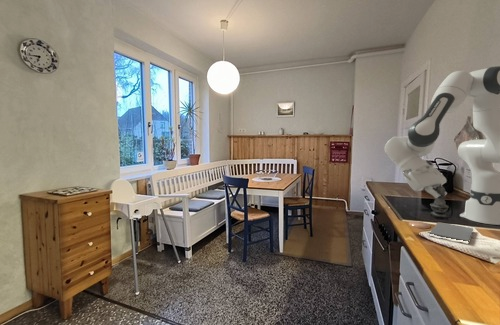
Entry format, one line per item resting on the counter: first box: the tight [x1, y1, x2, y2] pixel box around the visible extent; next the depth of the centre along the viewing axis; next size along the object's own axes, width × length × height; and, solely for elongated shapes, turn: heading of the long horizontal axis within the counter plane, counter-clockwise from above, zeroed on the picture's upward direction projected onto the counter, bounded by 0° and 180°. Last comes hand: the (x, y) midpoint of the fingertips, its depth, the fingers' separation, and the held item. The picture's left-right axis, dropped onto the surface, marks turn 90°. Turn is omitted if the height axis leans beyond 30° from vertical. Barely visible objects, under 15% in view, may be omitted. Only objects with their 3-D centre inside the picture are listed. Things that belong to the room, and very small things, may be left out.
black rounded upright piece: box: [429, 184, 450, 218], centre depth 94 cm, size 6×6×12 cm
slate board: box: [429, 221, 474, 243], centre depth 101 cm, size 18×12×2 cm, turn 134°
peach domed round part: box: [408, 220, 431, 229], centre depth 112 cm, size 8×8×1 cm
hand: (441, 196), depth 93 cm, fingers closed on black rounded upright piece, 4 cm apart
